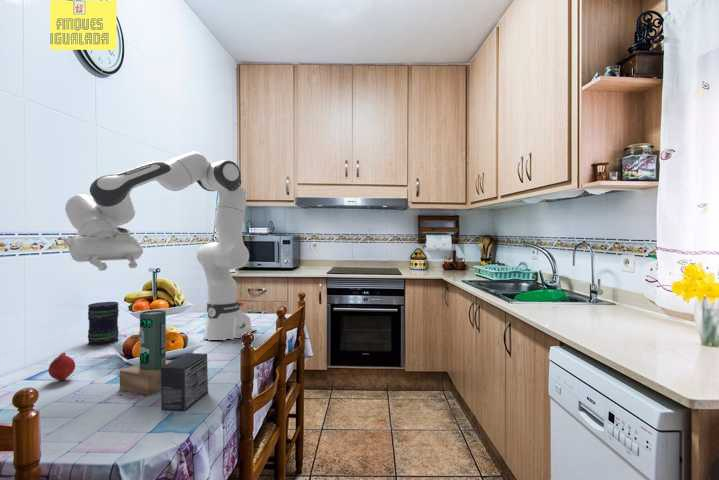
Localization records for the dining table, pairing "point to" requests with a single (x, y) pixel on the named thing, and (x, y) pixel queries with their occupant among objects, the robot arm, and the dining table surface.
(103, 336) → the storage jar
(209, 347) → the dining table surface
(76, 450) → the dining table surface
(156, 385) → the brown cardboard box
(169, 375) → the small box
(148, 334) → the can
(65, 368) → the onion
